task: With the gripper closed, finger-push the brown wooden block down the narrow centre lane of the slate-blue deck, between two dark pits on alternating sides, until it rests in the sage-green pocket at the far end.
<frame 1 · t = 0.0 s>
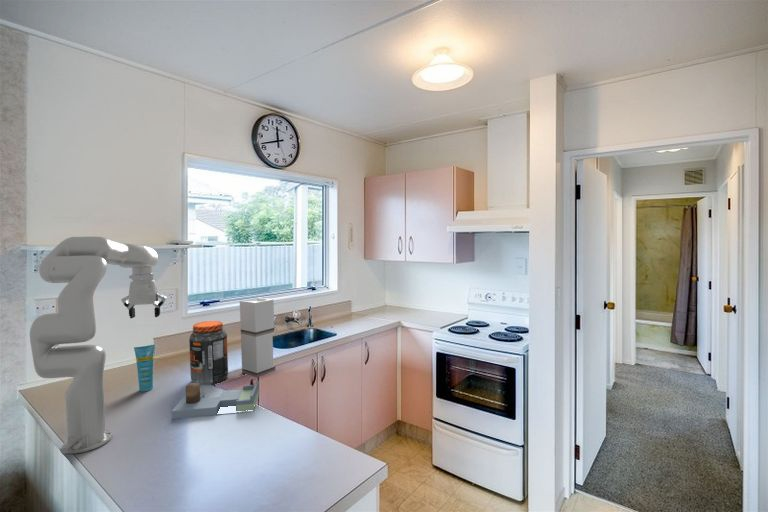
hand: (145, 317, 163), 31 cm above the worktop, fingers open, 9 cm apart
tube: (146, 390, 163), on the worktop
brown wooden block: (193, 400, 144), point 3 cm above the worktop, touching deck
banded white pillar: (258, 372, 183), on the worktop
deck: (218, 406, 146), on the worktop
supplement tub: (210, 379, 174), on the worktop
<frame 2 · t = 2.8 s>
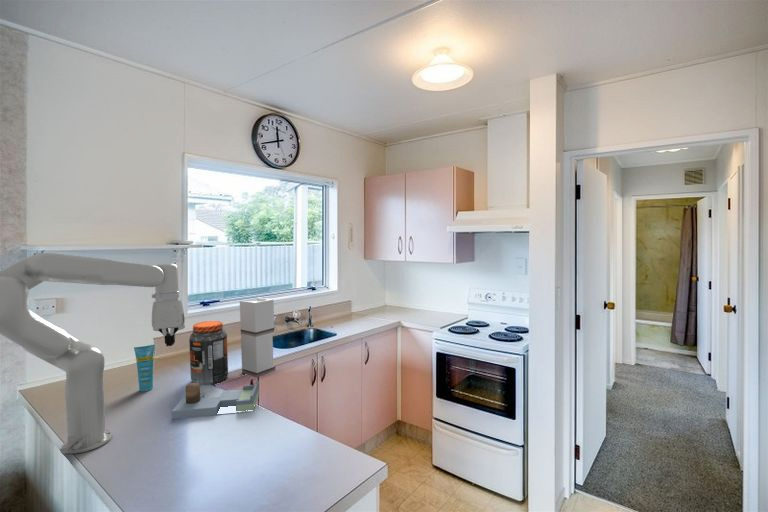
hand: (170, 345, 141), 25 cm above the worktop, fingers closed
nothing on the worktop moved.
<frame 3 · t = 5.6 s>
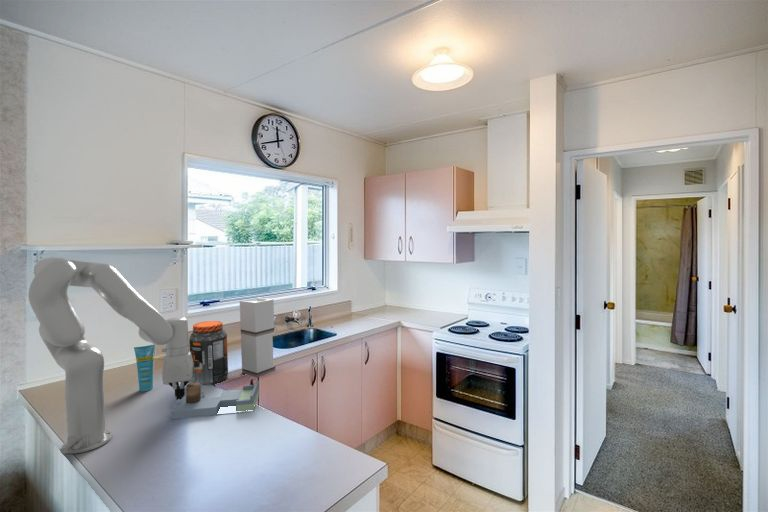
hand: (180, 398, 143), 4 cm above the worktop, fingers closed
brown wooden block: (193, 400, 144), point 3 cm above the worktop, touching deck, gripper
everything else where it was.
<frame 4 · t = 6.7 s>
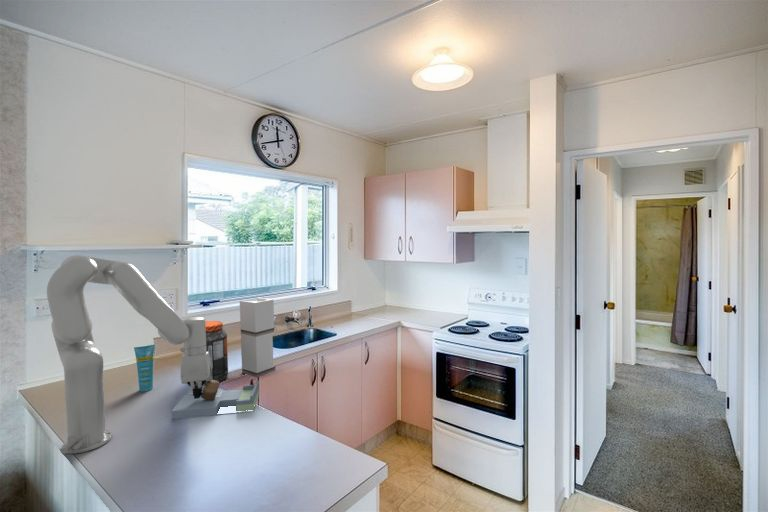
hand: (197, 397, 144), 4 cm above the worktop, fingers closed
brown wooden block: (208, 397, 145), point 4 cm above the worktop, tilted 19°, touching deck
everything else where it was.
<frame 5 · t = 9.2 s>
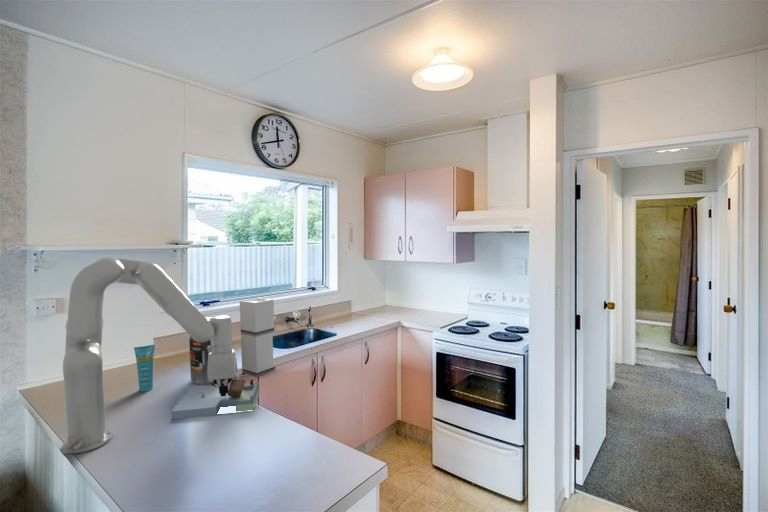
hand: (223, 394, 146), 4 cm above the worktop, fingers closed
brown wooden block: (233, 394, 147), point 4 cm above the worktop, tilted 20°, touching deck, gripper
everything else where it was.
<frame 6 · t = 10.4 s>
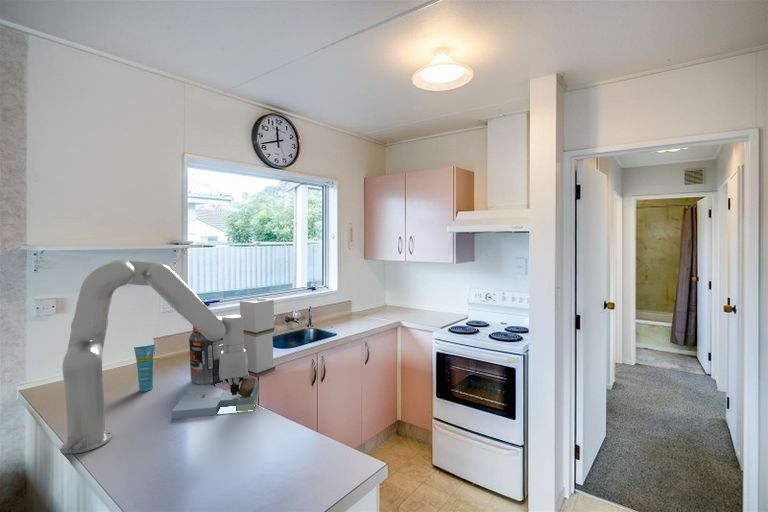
hand: (234, 393, 147), 4 cm above the worktop, fingers closed
brown wooden block: (244, 393, 148), point 4 cm above the worktop, tilted 19°, touching deck, gripper
everything else where it was.
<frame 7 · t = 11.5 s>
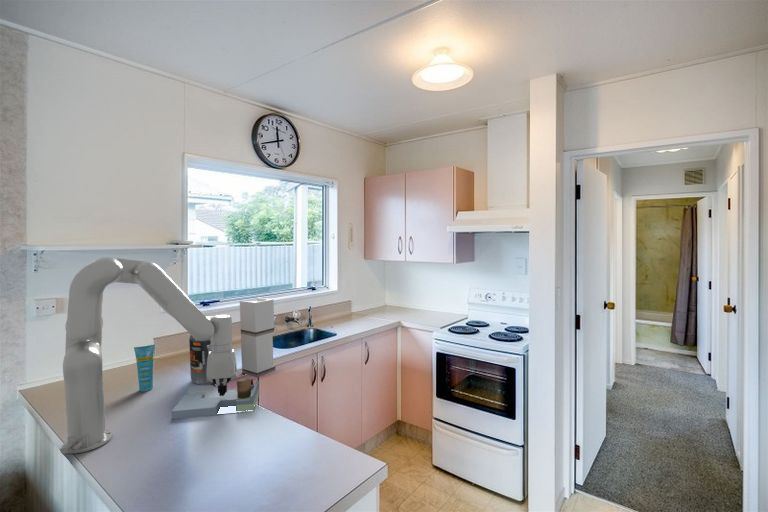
hand: (222, 394, 145), 5 cm above the worktop, fingers closed
brown wooden block: (244, 395, 148), point 3 cm above the worktop, touching deck
everything else where it was.
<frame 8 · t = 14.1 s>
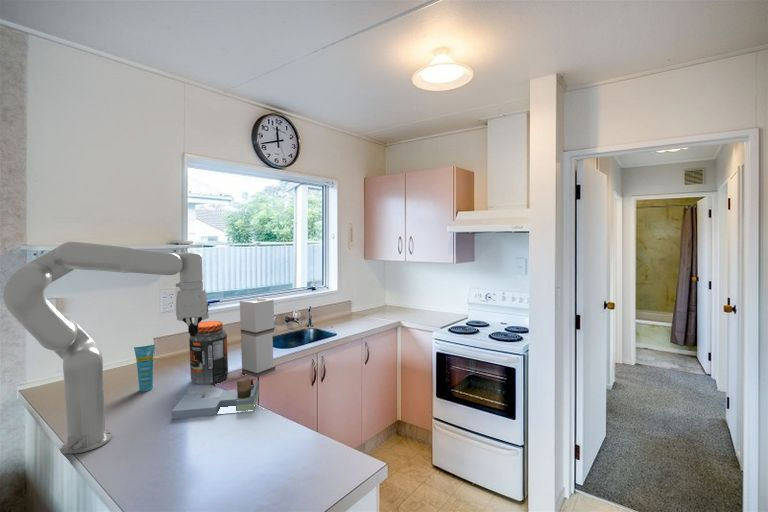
hand: (193, 335, 140), 29 cm above the worktop, fingers closed
nothing on the worktop moved.
at the end: brown wooden block 1.0 cm from the target spot on the deck, point 3.0 cm above the deck's base; brown wooden block tilted 0° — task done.
